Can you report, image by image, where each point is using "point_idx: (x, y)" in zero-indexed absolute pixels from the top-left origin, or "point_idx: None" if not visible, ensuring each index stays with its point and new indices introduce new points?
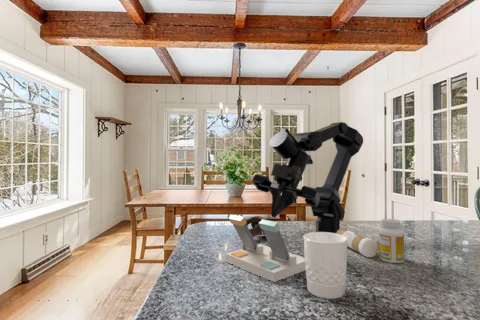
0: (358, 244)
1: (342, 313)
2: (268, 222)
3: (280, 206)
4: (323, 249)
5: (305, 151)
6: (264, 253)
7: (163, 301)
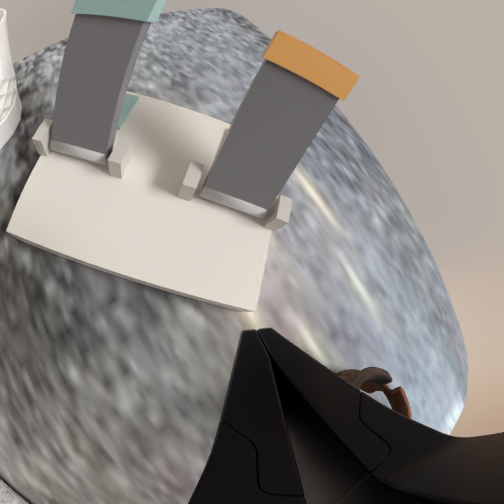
0: None
1: None
2: None
3: (224, 410)
4: None
5: None
6: (174, 201)
7: (236, 23)
